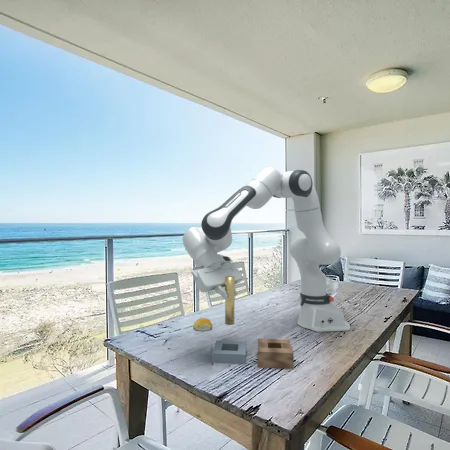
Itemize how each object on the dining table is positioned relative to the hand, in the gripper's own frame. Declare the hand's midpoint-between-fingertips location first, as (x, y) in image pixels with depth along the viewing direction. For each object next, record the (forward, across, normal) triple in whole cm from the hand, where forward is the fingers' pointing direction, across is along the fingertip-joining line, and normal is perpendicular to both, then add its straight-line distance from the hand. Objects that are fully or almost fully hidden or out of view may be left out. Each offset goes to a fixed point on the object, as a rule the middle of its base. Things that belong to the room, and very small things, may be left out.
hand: (231, 296), depth 107 cm
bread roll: (-5, +16, +36) cm, 40 cm away
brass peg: (+6, 0, +7) cm, 9 cm away
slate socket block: (+15, 0, +16) cm, 22 cm away
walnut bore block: (+24, +7, +6) cm, 26 cm away
